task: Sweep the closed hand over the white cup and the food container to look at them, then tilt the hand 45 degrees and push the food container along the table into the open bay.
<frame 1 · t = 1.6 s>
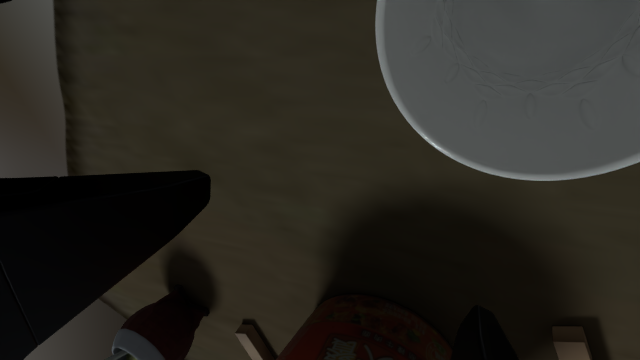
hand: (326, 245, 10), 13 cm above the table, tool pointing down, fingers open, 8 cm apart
mate gourd: (186, 302, 43), on the table
food container: (381, 347, 32), on the table
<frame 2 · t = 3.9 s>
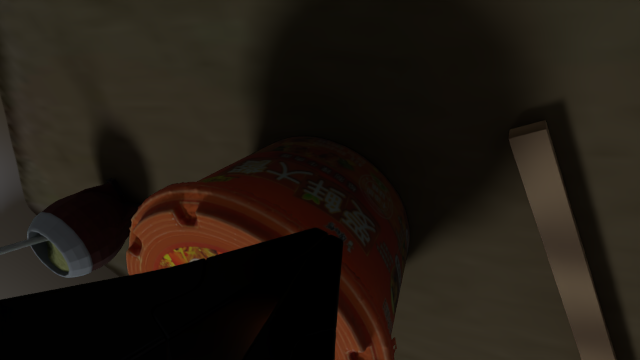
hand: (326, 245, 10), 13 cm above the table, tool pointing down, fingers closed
mate gourd: (123, 202, 39), on the table
food container: (324, 215, 28), on the table
bay: (370, 313, 30), on the table
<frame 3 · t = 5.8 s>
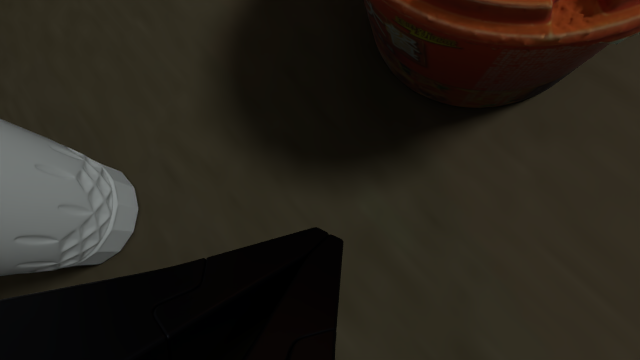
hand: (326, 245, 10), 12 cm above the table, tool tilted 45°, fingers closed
food container: (475, 15, 24), on the table
white cup: (96, 215, 26), on the table
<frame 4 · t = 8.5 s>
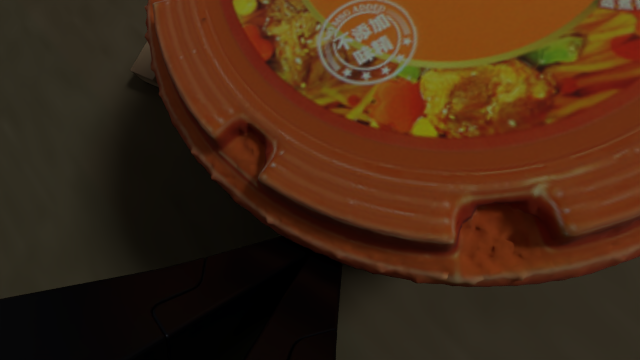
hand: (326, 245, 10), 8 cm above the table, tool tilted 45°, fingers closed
food container: (416, 111, 19), on the table, touching gripper
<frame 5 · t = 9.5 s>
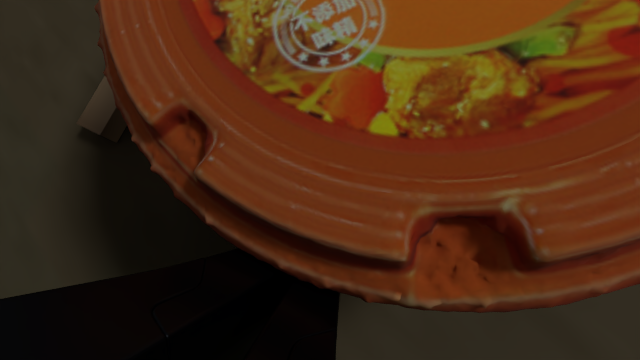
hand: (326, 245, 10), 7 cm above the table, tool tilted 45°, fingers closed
food container: (408, 108, 18), on the table, touching gripper
bay: (460, 25, 18), on the table
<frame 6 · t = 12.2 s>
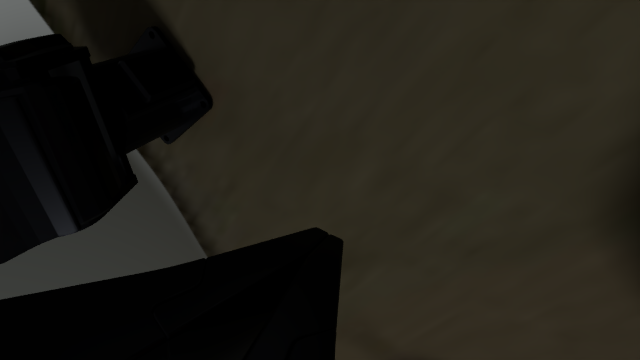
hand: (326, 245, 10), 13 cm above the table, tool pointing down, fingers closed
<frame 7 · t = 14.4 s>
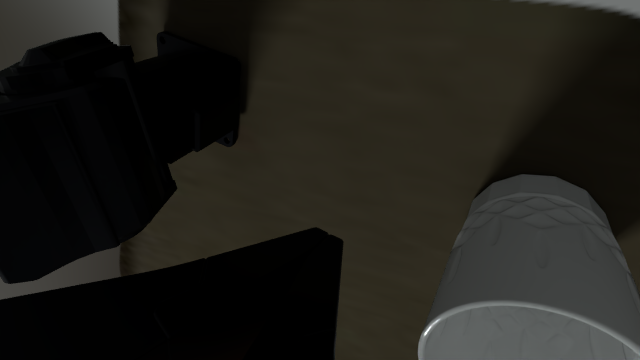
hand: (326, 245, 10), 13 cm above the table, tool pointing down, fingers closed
white cup: (531, 224, 21), on the table
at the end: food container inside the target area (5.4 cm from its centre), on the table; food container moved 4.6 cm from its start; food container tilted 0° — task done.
